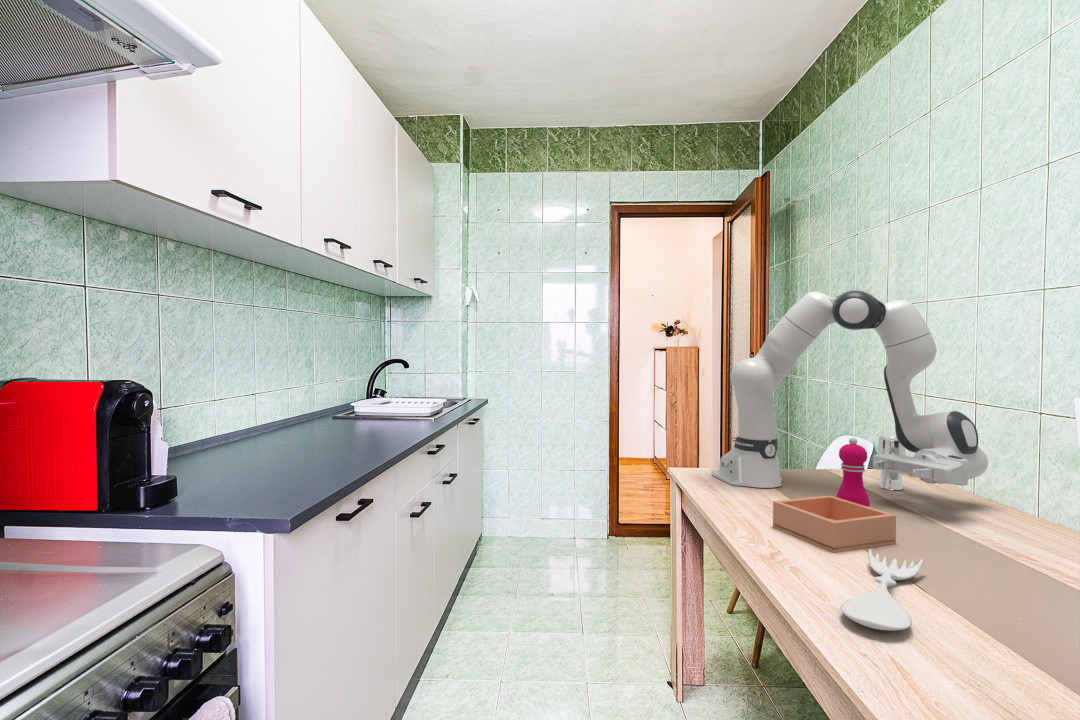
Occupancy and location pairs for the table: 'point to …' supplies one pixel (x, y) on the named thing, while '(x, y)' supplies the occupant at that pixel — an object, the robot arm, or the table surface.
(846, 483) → the pepper mill
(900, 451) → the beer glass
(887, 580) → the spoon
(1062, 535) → the table surface
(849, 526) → the crate
